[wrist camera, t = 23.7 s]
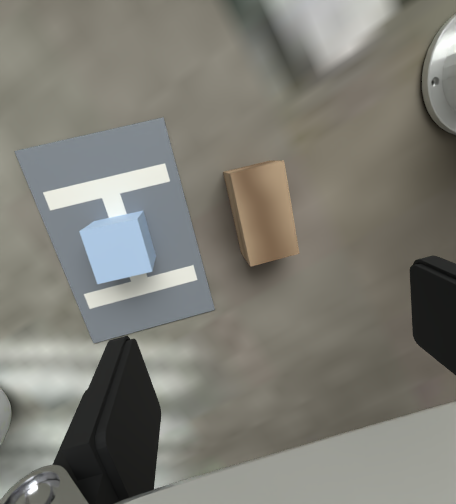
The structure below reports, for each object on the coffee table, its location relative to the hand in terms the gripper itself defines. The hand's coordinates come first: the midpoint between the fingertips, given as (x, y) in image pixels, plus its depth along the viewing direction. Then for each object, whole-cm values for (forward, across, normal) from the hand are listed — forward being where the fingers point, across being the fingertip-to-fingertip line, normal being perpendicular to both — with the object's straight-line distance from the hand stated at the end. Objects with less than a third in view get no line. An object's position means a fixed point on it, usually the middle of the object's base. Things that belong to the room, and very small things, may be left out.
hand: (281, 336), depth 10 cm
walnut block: (+25, -4, +1) cm, 25 cm away
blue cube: (+24, +10, 0) cm, 26 cm away
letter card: (+24, +10, 0) cm, 26 cm away
